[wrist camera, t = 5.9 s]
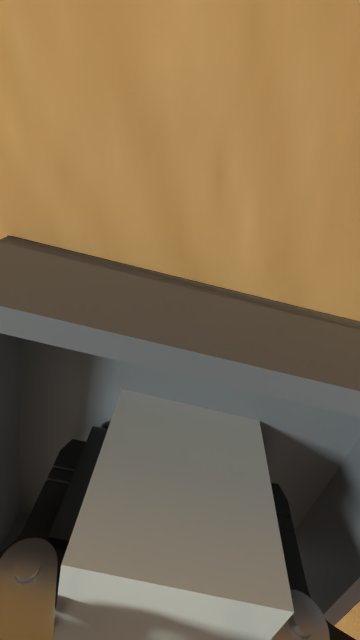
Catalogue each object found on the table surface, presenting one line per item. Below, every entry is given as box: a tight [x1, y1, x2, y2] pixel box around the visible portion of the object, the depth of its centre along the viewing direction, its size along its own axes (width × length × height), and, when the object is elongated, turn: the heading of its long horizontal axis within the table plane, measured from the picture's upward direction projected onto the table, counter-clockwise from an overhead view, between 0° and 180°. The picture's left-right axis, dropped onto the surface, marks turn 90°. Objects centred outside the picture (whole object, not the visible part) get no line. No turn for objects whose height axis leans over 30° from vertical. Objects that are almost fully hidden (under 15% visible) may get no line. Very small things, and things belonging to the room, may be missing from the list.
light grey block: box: [53, 389, 294, 640], centre depth 10 cm, size 4×4×5 cm
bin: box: [0, 236, 360, 626], centre depth 11 cm, size 12×12×4 cm
